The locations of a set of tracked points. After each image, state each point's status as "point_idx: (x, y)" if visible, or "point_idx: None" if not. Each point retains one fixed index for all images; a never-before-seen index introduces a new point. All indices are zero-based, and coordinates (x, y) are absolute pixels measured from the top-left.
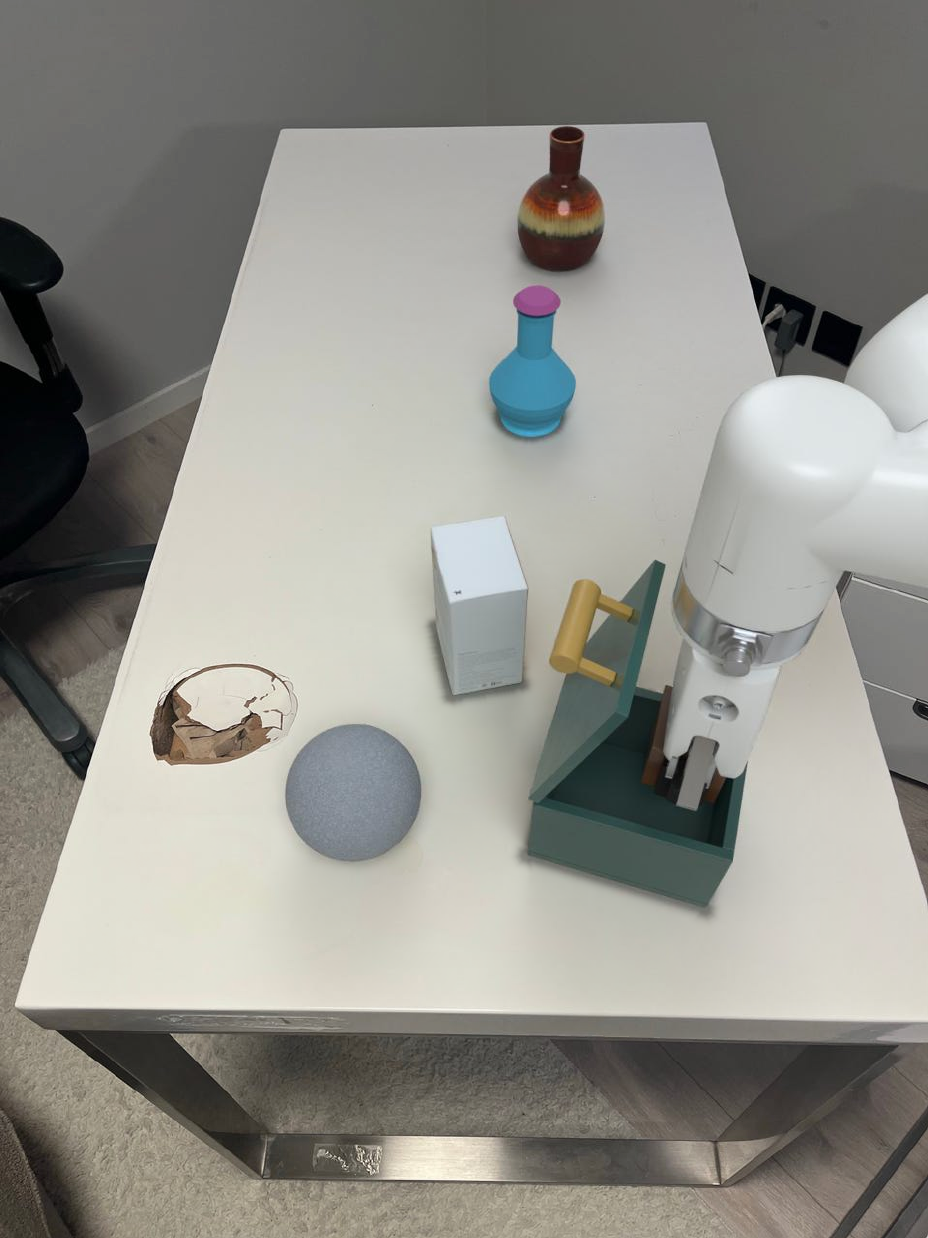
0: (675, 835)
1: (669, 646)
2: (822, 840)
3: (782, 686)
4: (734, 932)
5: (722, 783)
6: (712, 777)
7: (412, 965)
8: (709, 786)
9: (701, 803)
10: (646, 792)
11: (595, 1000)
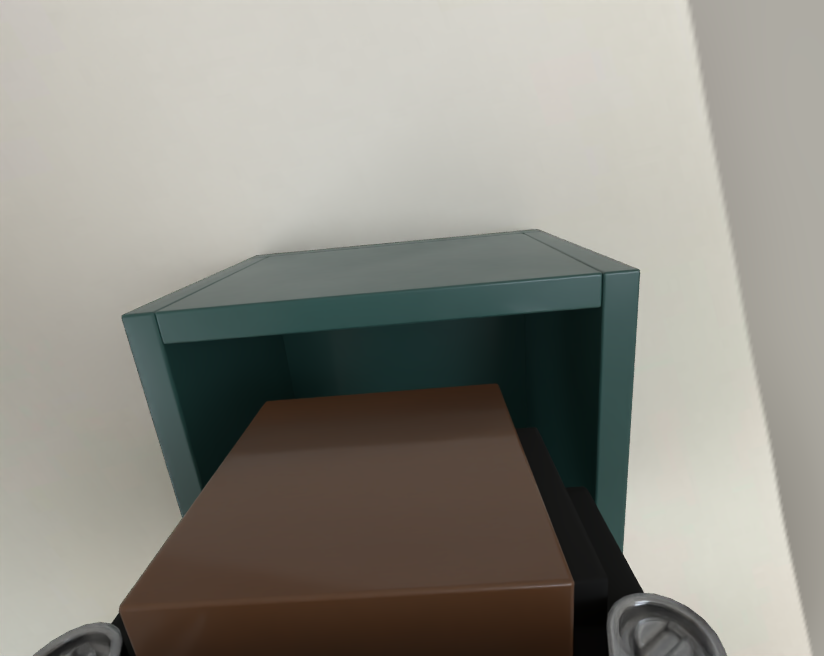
0: (600, 430)
1: (55, 419)
2: (311, 32)
3: (2, 195)
4: (567, 167)
5: (528, 465)
6: (595, 582)
7: (742, 584)
8: (579, 523)
9: (541, 437)
10: (370, 388)
11: (741, 356)
